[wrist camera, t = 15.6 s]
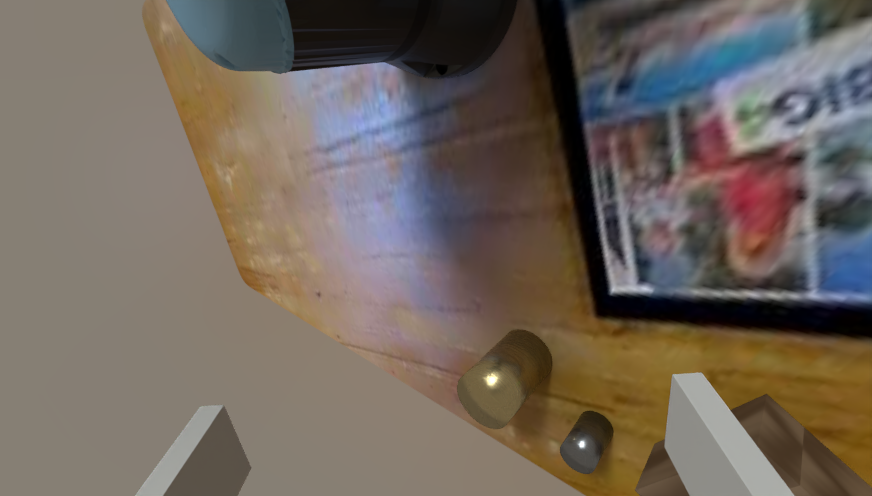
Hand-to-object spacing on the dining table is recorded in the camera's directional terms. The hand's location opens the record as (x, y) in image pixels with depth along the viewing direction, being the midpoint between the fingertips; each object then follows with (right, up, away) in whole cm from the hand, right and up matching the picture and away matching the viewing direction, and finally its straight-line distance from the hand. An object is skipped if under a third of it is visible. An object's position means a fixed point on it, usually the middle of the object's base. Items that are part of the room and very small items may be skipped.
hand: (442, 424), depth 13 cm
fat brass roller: (+10, -6, +35) cm, 37 cm away
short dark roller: (+17, -13, +32) cm, 39 cm away
